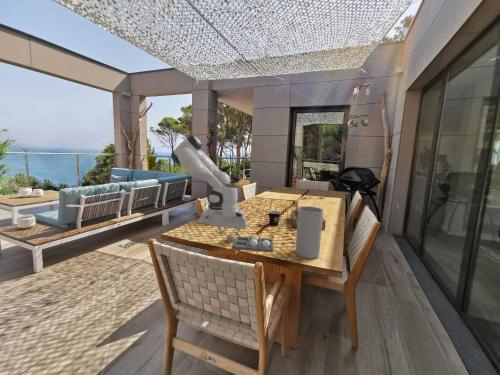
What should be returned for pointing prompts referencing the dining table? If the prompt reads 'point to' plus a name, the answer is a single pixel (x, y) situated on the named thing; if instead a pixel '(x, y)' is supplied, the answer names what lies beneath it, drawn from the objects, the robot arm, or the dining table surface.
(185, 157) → the robot arm
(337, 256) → the dining table surface
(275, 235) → the dining table surface
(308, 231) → the cylinder vase
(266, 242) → the cream egg
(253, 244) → the cream egg
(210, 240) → the dining table surface
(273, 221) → the coffee mug
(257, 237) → the cream egg
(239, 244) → the egg tray
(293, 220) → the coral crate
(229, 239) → the brown egg
